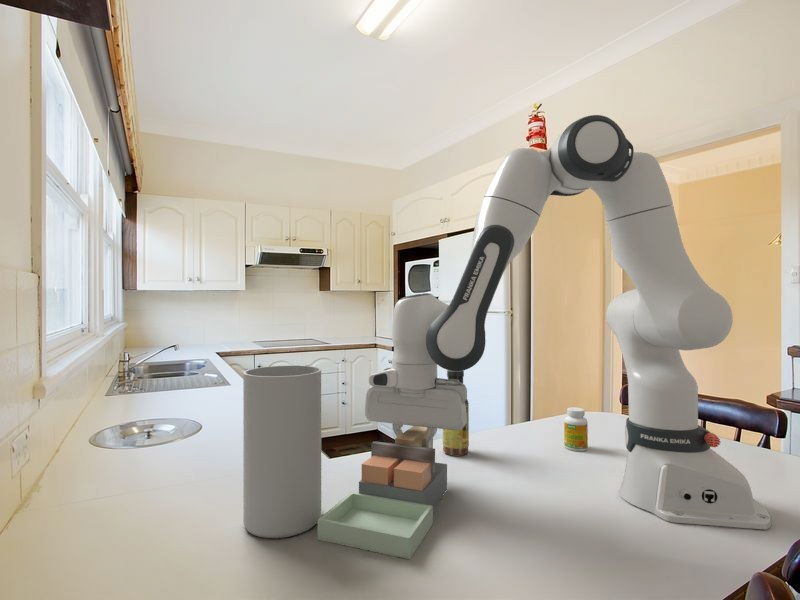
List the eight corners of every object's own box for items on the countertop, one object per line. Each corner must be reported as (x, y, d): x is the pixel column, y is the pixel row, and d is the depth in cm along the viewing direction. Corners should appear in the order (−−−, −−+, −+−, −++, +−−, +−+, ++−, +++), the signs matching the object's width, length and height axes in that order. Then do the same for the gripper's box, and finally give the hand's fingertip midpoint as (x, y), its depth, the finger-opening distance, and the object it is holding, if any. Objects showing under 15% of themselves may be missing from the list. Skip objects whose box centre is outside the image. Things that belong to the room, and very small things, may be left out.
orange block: (398, 475, 83) (398, 458, 83) (387, 485, 78) (387, 468, 78) (373, 471, 84) (373, 455, 84) (361, 481, 80) (361, 464, 80)
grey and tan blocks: (452, 452, 92) (452, 427, 93) (433, 473, 80) (433, 444, 80) (398, 445, 97) (398, 421, 97) (371, 464, 85) (371, 437, 85)
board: (447, 489, 88) (447, 464, 88) (424, 522, 75) (424, 492, 75) (389, 481, 93) (389, 456, 93) (358, 510, 80) (358, 481, 80)
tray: (432, 524, 75) (432, 505, 75) (409, 559, 64) (409, 538, 64) (351, 509, 80) (351, 491, 80) (317, 539, 70) (317, 519, 70)
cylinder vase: (240, 512, 79) (240, 367, 79) (312, 499, 84) (312, 363, 84) (247, 547, 68) (247, 379, 68) (329, 530, 73) (329, 373, 73)
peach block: (431, 480, 80) (431, 463, 80) (421, 491, 76) (421, 472, 76) (404, 476, 82) (404, 459, 82) (393, 486, 78) (394, 468, 78)
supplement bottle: (563, 450, 112) (563, 410, 112) (564, 443, 117) (564, 405, 117) (587, 452, 110) (587, 412, 110) (587, 446, 115) (587, 407, 115)
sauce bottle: (468, 458, 106) (467, 372, 106) (441, 456, 108) (441, 371, 108) (469, 449, 113) (469, 368, 113) (444, 447, 114) (444, 368, 114)
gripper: (470, 377, 88) (470, 449, 88) (374, 371, 96) (374, 437, 96) (462, 382, 82) (462, 459, 82) (361, 376, 90) (361, 446, 90)
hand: (414, 447), depth 89 cm, fingers closed on grey and tan blocks, 3 cm apart
